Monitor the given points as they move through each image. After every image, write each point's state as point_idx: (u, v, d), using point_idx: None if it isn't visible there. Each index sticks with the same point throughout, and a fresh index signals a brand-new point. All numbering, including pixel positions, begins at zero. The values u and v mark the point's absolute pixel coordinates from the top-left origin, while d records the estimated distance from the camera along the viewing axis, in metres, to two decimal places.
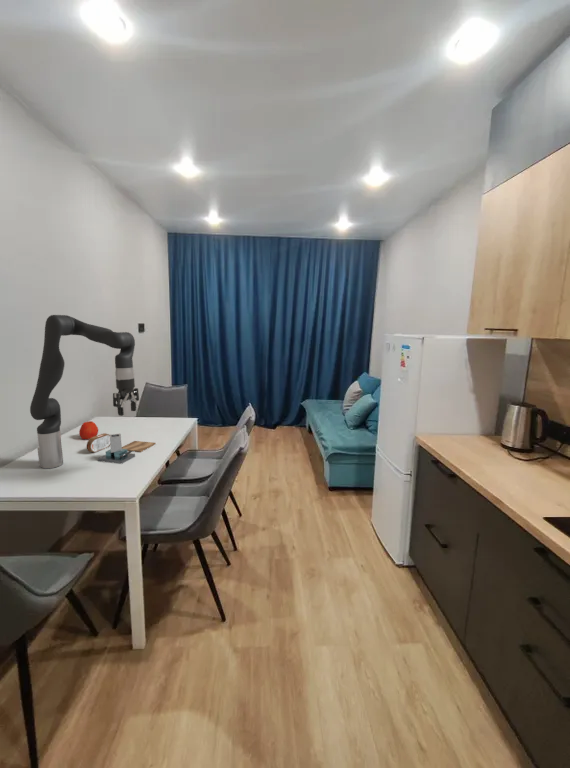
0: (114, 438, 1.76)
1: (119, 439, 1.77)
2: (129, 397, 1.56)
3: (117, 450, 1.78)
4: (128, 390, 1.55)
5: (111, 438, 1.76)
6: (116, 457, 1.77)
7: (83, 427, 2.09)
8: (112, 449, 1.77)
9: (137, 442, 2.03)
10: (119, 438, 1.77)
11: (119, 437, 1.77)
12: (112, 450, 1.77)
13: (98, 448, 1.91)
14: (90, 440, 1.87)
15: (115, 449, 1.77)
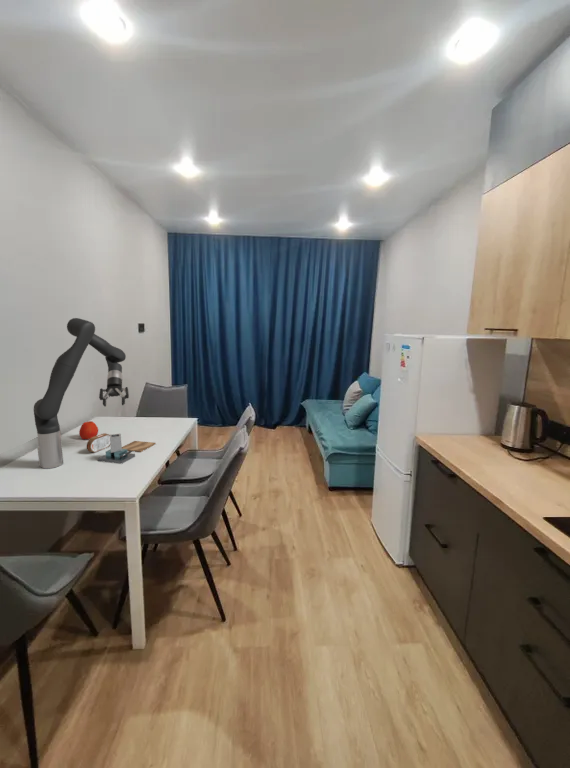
0: (114, 438, 1.76)
1: (119, 439, 1.77)
2: None
3: (117, 450, 1.78)
4: None
5: (111, 438, 1.76)
6: (116, 457, 1.77)
7: (83, 427, 2.09)
8: (112, 449, 1.77)
9: (137, 442, 2.03)
10: (119, 438, 1.77)
11: (119, 437, 1.77)
12: (112, 450, 1.77)
13: (98, 448, 1.91)
14: (90, 440, 1.87)
15: (115, 449, 1.77)
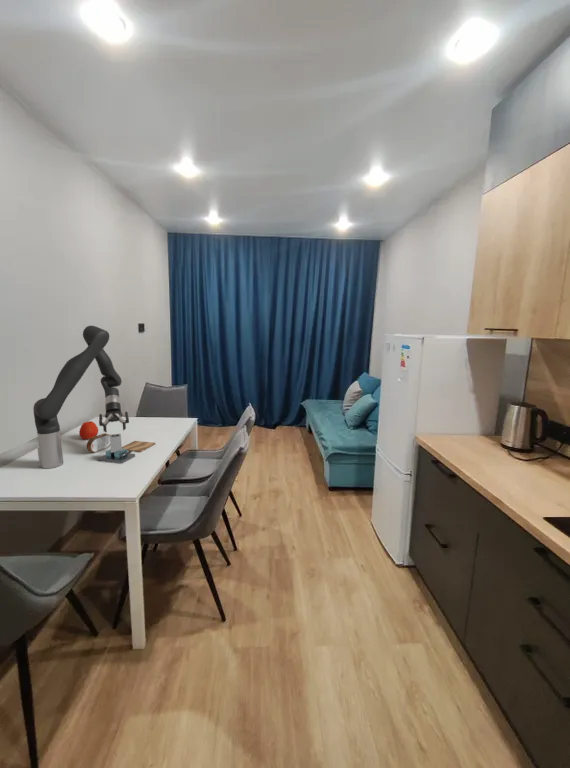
0: (114, 438, 1.76)
1: (119, 439, 1.77)
2: None
3: (117, 450, 1.78)
4: None
5: (111, 438, 1.76)
6: (116, 457, 1.77)
7: (83, 427, 2.09)
8: (112, 449, 1.77)
9: (137, 442, 2.03)
10: (119, 438, 1.77)
11: (119, 437, 1.77)
12: (112, 450, 1.77)
13: (98, 448, 1.91)
14: (90, 440, 1.87)
15: (115, 449, 1.77)
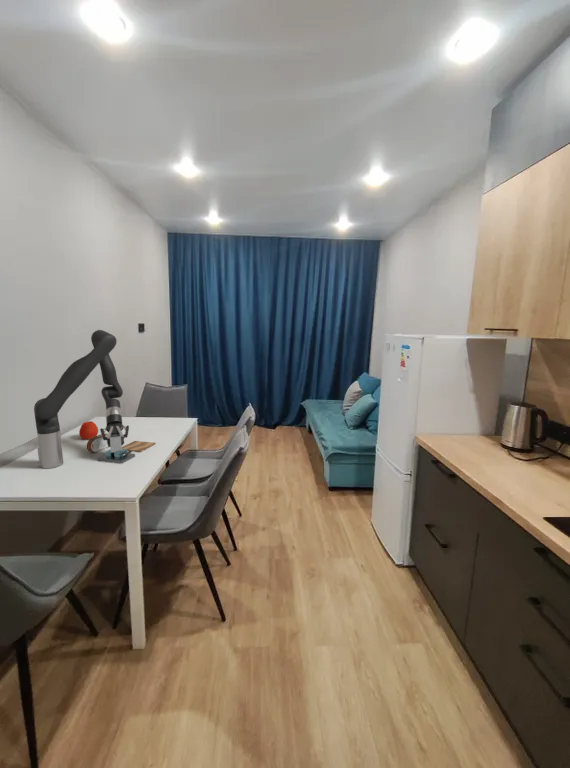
0: (114, 438, 1.76)
1: (119, 439, 1.77)
2: None
3: (117, 450, 1.78)
4: None
5: (111, 438, 1.76)
6: (116, 457, 1.77)
7: (83, 427, 2.09)
8: (112, 449, 1.77)
9: (137, 442, 2.03)
10: (119, 438, 1.77)
11: (119, 437, 1.77)
12: (112, 450, 1.77)
13: (98, 448, 1.91)
14: (90, 440, 1.87)
15: (115, 449, 1.77)
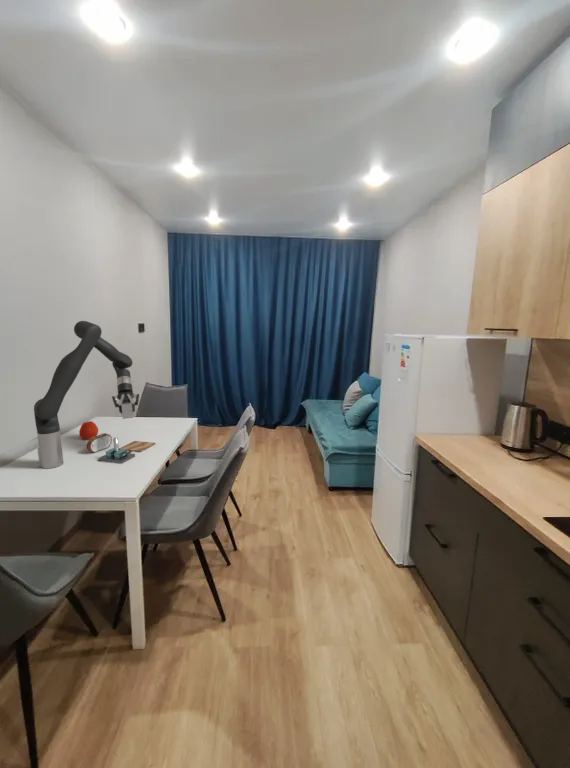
0: (125, 405, 1.84)
1: (130, 406, 1.85)
2: None
3: (128, 416, 1.85)
4: None
5: (122, 405, 1.83)
6: (116, 457, 1.77)
7: (83, 427, 2.09)
8: (124, 415, 1.84)
9: (137, 442, 2.03)
10: (130, 405, 1.85)
11: (130, 404, 1.85)
12: (124, 416, 1.84)
13: (98, 448, 1.91)
14: (90, 440, 1.87)
15: (126, 415, 1.85)
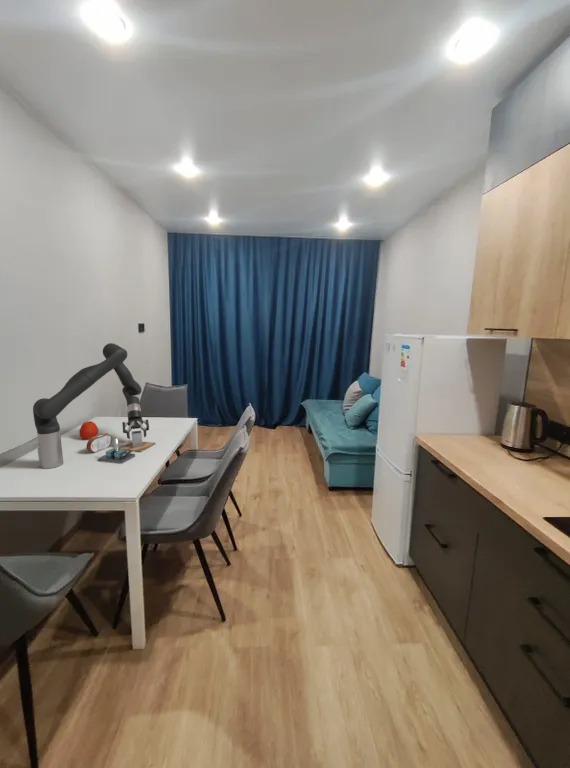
0: (136, 434, 1.94)
1: (140, 435, 1.96)
2: None
3: (138, 445, 1.96)
4: None
5: (133, 434, 1.94)
6: (116, 457, 1.77)
7: (83, 427, 2.09)
8: (134, 444, 1.95)
9: None
10: (140, 434, 1.95)
11: (140, 433, 1.95)
12: (134, 445, 1.95)
13: (98, 448, 1.91)
14: (90, 440, 1.87)
15: (136, 444, 1.95)
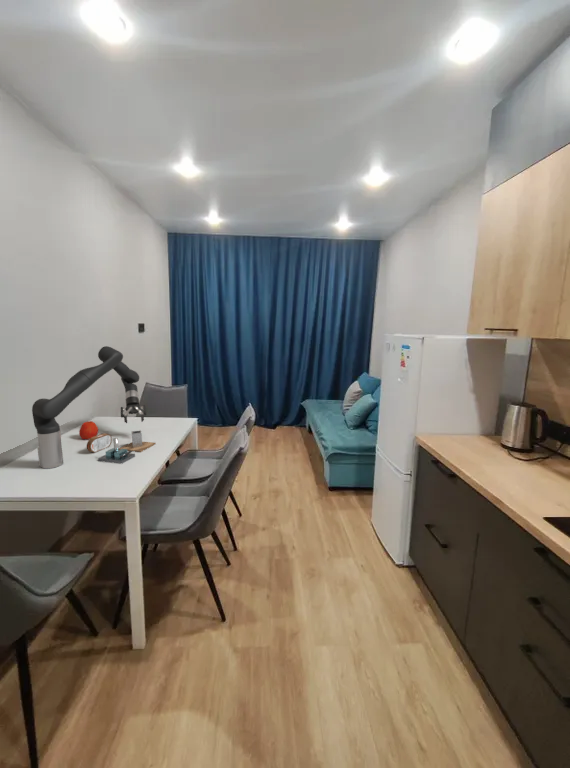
0: (136, 434, 1.94)
1: (140, 435, 1.96)
2: None
3: (138, 445, 1.96)
4: None
5: (133, 434, 1.94)
6: (116, 457, 1.77)
7: (83, 427, 2.09)
8: (134, 444, 1.95)
9: None
10: (140, 434, 1.95)
11: (140, 433, 1.95)
12: (134, 445, 1.95)
13: (98, 448, 1.91)
14: (90, 440, 1.87)
15: (136, 444, 1.95)
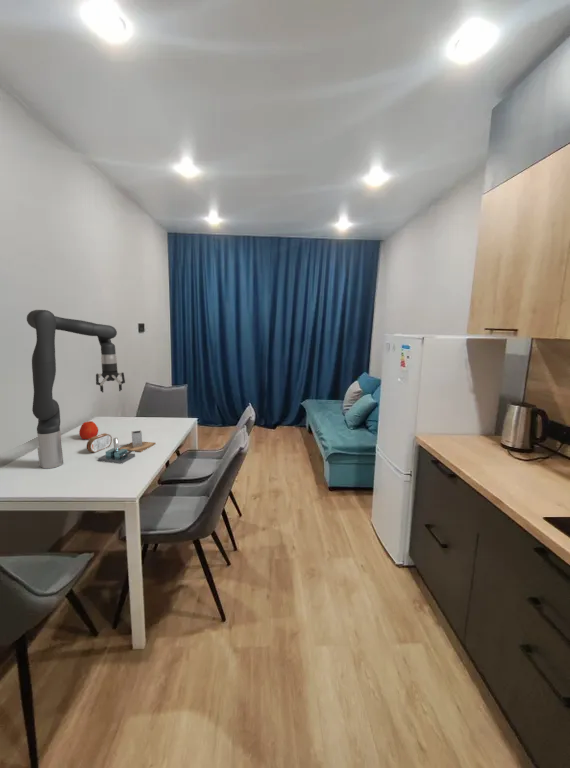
0: (136, 434, 1.94)
1: (140, 435, 1.96)
2: None
3: (138, 445, 1.96)
4: None
5: (133, 434, 1.94)
6: (116, 457, 1.77)
7: (83, 427, 2.09)
8: (134, 444, 1.95)
9: None
10: (140, 434, 1.95)
11: (140, 433, 1.95)
12: (134, 445, 1.95)
13: (98, 448, 1.91)
14: (90, 440, 1.87)
15: (136, 444, 1.95)
